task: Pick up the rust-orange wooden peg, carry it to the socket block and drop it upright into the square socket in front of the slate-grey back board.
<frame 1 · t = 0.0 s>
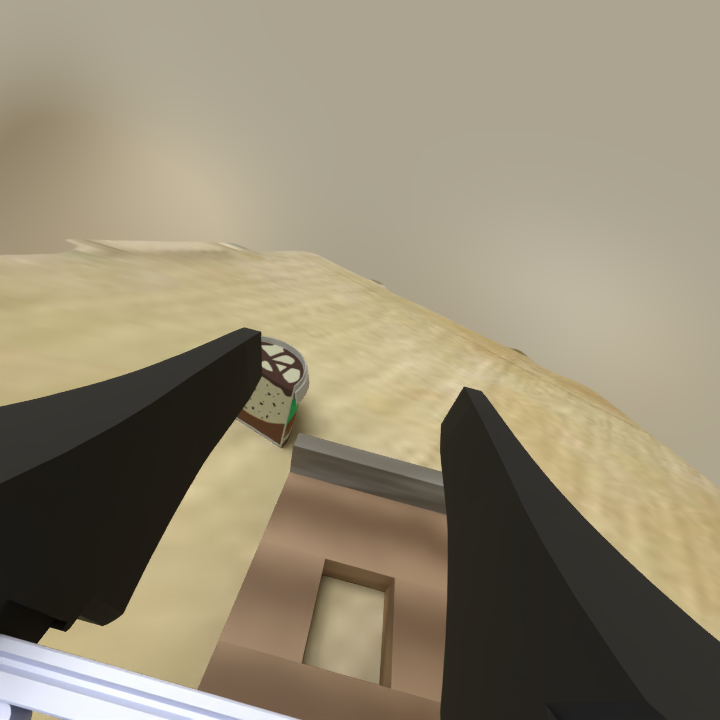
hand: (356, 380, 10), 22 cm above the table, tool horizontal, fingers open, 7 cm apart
food container: (269, 415, 36), on the table
socket block: (345, 627, 20), on the table
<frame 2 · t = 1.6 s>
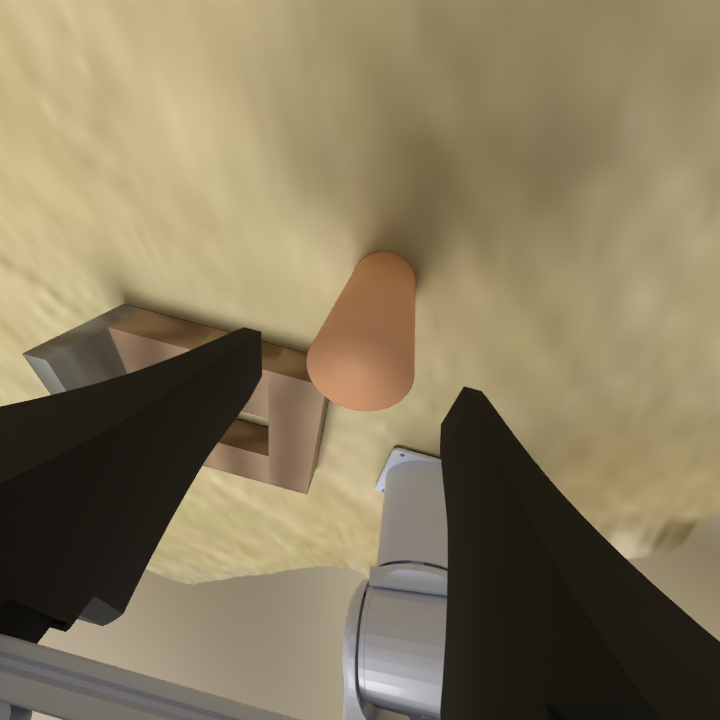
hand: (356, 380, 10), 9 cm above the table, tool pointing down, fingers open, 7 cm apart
socket block: (254, 405, 26), on the table
peg: (383, 284, 17), on the table
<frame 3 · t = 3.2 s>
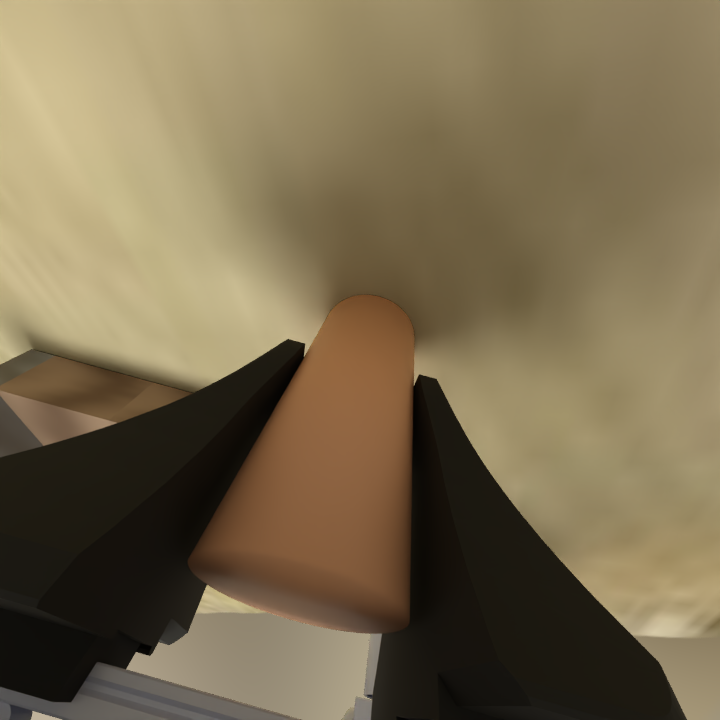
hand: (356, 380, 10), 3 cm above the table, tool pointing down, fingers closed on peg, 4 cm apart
socket block: (214, 465, 21), on the table
peg: (368, 337, 12), on the table, touching gripper
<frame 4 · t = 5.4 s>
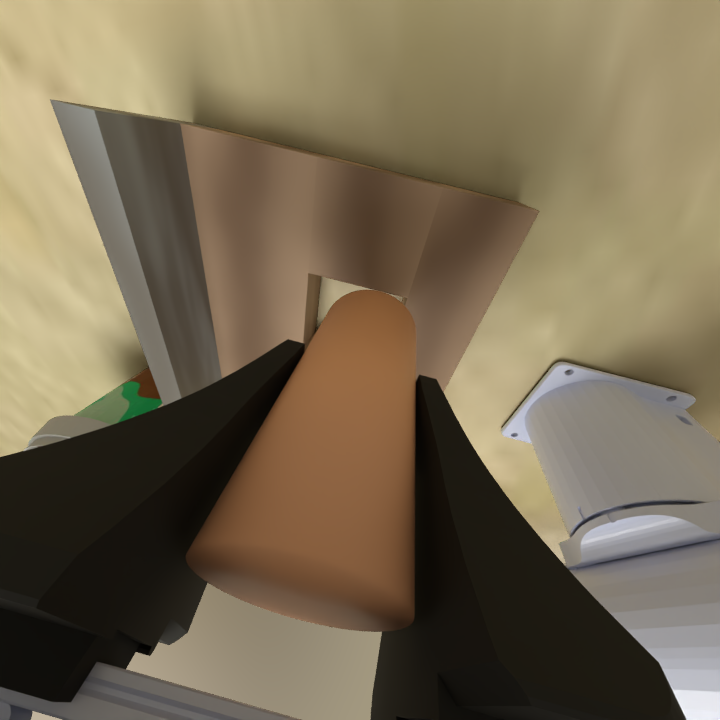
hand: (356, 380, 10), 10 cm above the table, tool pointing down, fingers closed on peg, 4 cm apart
food container: (163, 384, 28), on the table
socket block: (357, 307, 19), on the table
peg: (369, 333, 12), point 7 cm above the table, touching gripper
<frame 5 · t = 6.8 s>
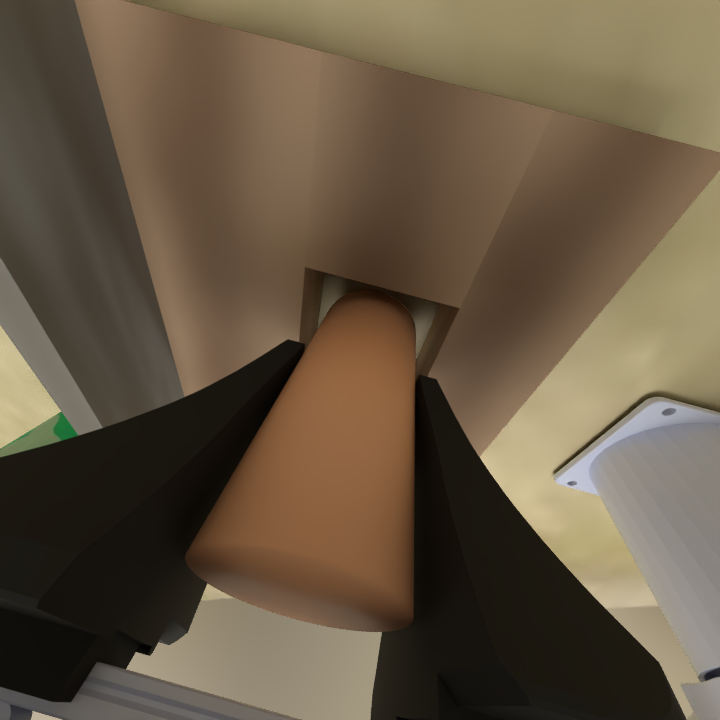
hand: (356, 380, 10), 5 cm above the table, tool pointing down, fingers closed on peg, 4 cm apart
food container: (124, 406, 23), on the table
socket block: (374, 317, 14), on the table
peg: (369, 334, 12), point 2 cm above the table, touching gripper
when the fingers open (4 cm above the table, at t = 7.8 s): peg drops 1 cm, resting in socket block.
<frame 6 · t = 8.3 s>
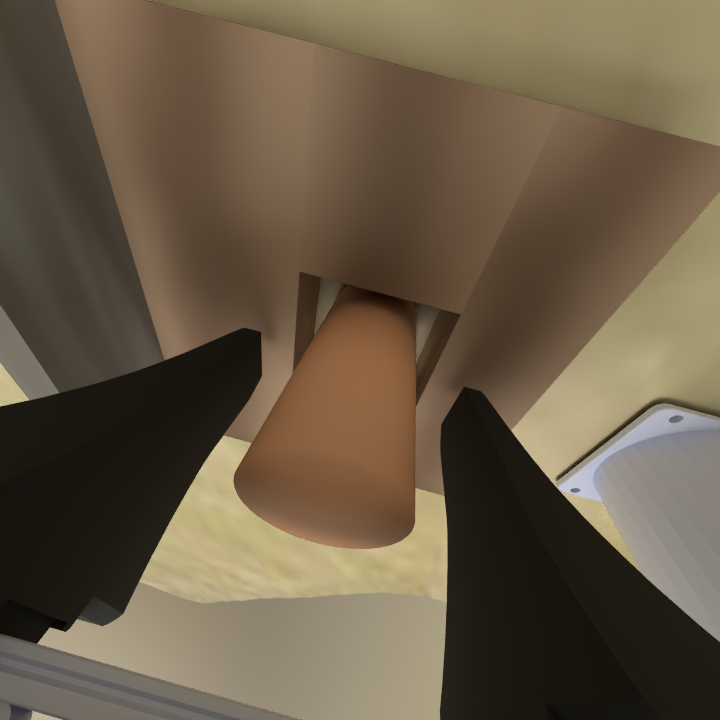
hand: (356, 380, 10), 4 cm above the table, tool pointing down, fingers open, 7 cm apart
socket block: (372, 321, 13), on the table
peg: (373, 318, 13), resting in socket block
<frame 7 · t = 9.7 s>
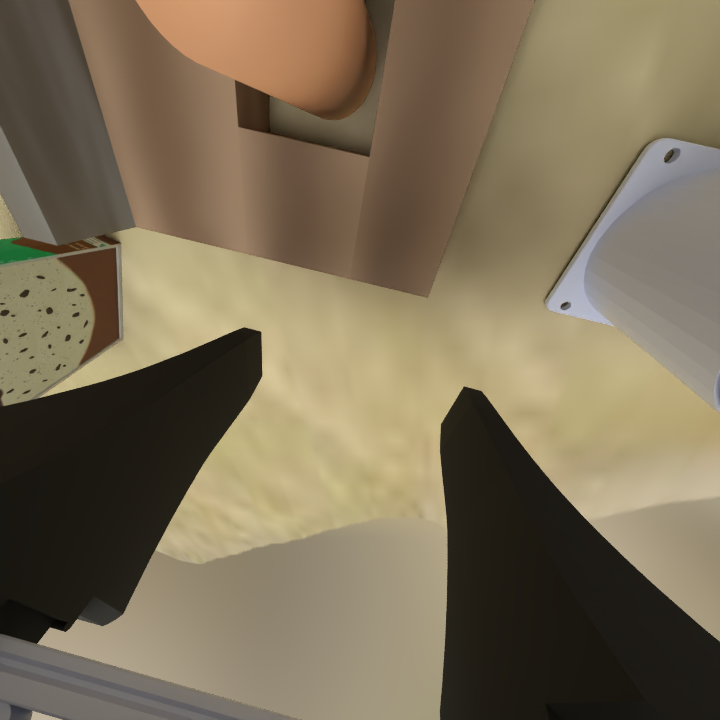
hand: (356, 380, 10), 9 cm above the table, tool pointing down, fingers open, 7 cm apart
food container: (84, 275, 21), on the table
socket block: (329, 64, 12), on the table
peg: (330, 58, 12), resting in socket block
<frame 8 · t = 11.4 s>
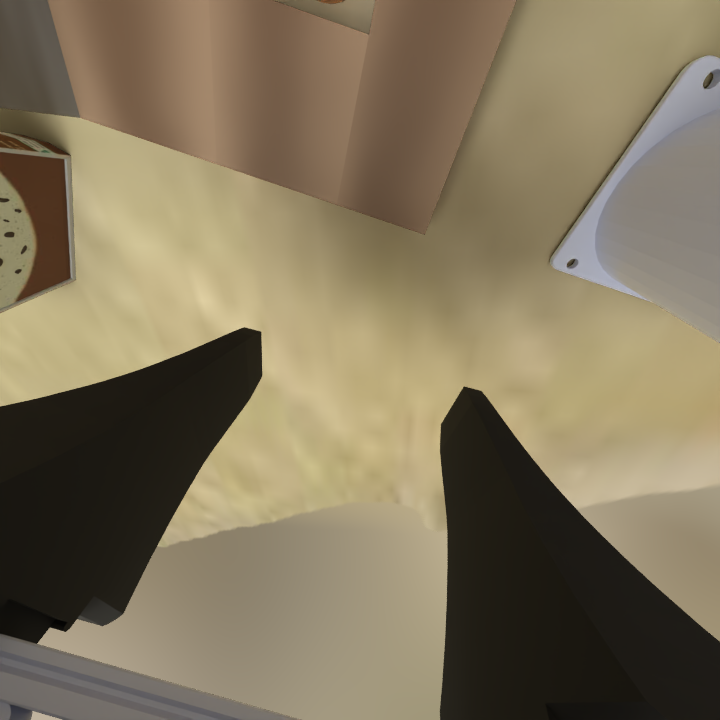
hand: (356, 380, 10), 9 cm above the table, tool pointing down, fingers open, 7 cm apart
food container: (27, 195, 18), on the table
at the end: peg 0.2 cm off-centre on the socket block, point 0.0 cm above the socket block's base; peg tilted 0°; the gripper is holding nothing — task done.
